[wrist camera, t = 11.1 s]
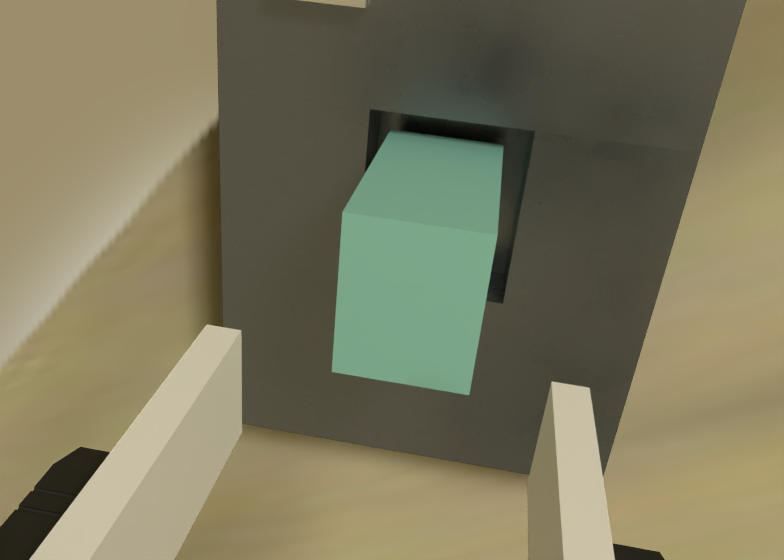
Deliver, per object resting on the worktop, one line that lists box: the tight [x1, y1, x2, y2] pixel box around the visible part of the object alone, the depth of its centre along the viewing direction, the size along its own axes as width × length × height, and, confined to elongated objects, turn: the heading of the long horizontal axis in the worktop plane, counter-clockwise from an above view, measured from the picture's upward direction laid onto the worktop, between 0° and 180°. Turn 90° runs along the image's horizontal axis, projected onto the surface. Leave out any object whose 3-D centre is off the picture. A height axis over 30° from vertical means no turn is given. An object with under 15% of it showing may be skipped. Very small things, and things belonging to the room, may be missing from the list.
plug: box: [332, 129, 504, 395], centre depth 24 cm, size 5×4×9 cm
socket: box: [217, 0, 746, 475], centre depth 27 cm, size 22×16×4 cm
